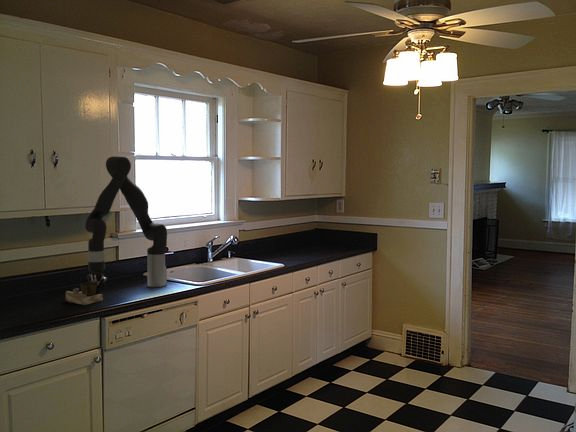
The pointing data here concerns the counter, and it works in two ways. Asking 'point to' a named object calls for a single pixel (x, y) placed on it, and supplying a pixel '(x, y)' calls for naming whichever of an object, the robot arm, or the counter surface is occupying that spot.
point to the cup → (89, 288)
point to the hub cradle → (82, 297)
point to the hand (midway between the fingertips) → (97, 295)
